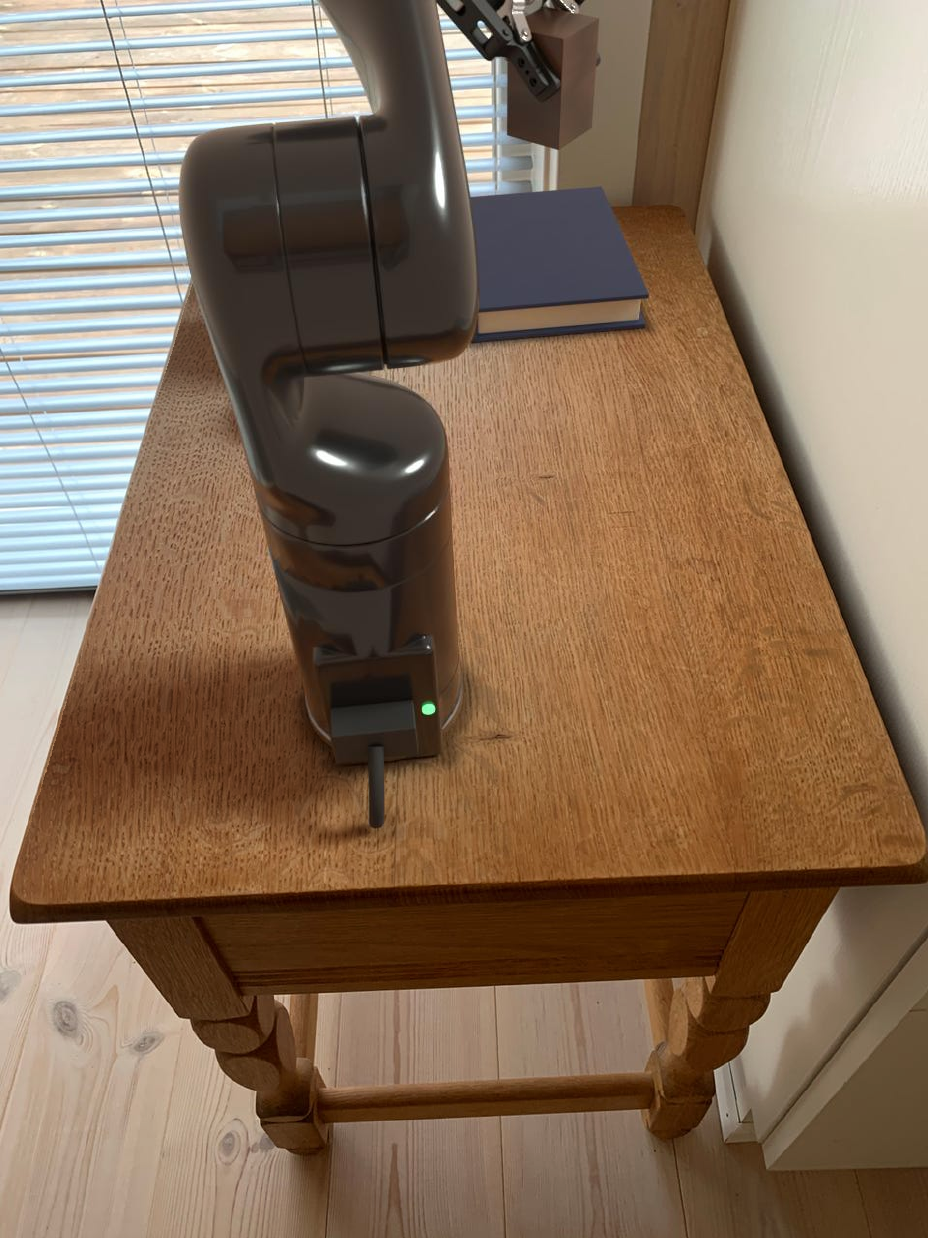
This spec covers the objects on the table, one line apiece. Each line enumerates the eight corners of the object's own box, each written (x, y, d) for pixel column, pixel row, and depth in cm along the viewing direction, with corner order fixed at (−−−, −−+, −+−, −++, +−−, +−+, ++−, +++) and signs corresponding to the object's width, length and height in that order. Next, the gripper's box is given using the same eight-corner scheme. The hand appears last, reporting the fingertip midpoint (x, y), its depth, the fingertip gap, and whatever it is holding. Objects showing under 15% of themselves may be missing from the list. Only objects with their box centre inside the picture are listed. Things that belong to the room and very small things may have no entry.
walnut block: (558, 150, 78) (563, 38, 72) (506, 135, 80) (507, 25, 74) (592, 127, 80) (599, 17, 74) (541, 113, 82) (544, 5, 76)
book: (645, 327, 85) (649, 294, 83) (470, 342, 84) (469, 309, 82) (599, 217, 98) (601, 185, 96) (448, 230, 98) (446, 198, 95)
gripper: (406, -149, 65) (551, 84, 69) (528, -191, 72) (652, 22, 77) (354, -67, 71) (490, 143, 75) (472, -113, 79) (590, 80, 83)
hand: (571, 81), depth 76 cm, fingers closed on walnut block, 5 cm apart
